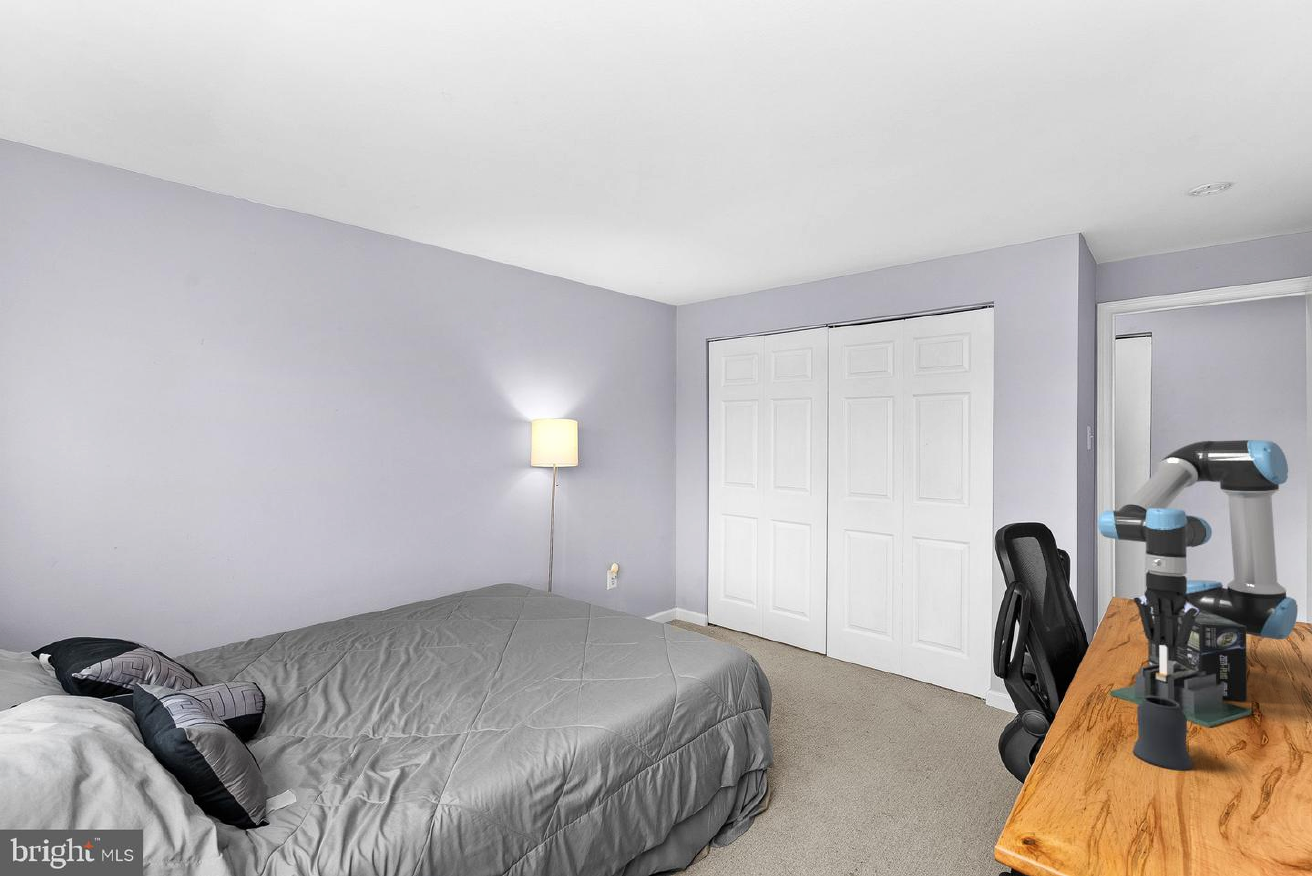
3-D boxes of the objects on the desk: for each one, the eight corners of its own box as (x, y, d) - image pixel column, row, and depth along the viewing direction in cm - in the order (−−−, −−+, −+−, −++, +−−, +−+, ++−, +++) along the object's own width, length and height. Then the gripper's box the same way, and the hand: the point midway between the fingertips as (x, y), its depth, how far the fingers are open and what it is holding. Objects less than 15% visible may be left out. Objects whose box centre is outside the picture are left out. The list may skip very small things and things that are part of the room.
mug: (1195, 775, 114) (1194, 714, 114) (1133, 760, 120) (1132, 702, 120) (1189, 751, 124) (1188, 695, 124) (1132, 738, 129) (1131, 684, 129)
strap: (1190, 672, 153) (1190, 666, 153) (1204, 676, 150) (1204, 669, 150) (1154, 678, 146) (1154, 672, 146) (1167, 682, 144) (1167, 676, 144)
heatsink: (1152, 684, 161) (1152, 653, 161) (1251, 714, 142) (1250, 679, 143) (1110, 694, 153) (1109, 662, 154) (1208, 727, 135) (1208, 690, 135)
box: (1249, 703, 149) (1248, 624, 150) (1201, 699, 151) (1200, 622, 152) (1187, 671, 172) (1186, 602, 172) (1147, 668, 174) (1146, 600, 174)
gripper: (1126, 569, 152) (1126, 666, 151) (1189, 579, 140) (1190, 684, 139) (1144, 567, 155) (1144, 662, 154) (1208, 577, 143) (1208, 680, 142)
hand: (1166, 672), depth 146 cm, fingers closed
